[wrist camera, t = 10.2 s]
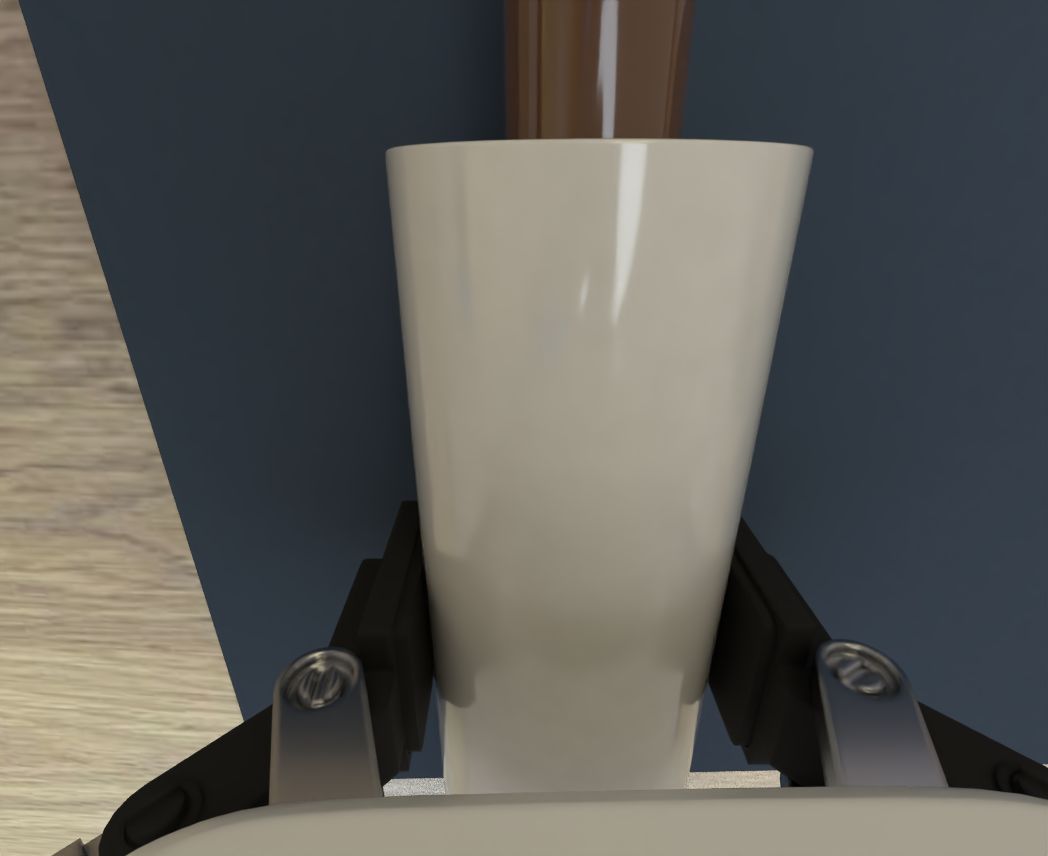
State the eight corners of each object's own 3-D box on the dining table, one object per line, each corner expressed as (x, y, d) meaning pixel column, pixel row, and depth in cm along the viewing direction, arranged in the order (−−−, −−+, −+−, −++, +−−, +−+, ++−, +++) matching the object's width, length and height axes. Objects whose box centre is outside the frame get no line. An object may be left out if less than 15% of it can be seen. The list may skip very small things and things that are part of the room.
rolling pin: (629, 850, 19) (663, 1092, 14) (471, 847, 19) (450, 1087, 14) (795, -323, 8) (1345, -1371, 2) (394, -319, 8) (115, -1322, 3)
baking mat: (265, 775, 18) (262, 782, 18) (-9, -113, 9) (-20, -120, 9) (1106, 757, 18) (1112, 763, 18) (1674, -108, 9) (1697, -113, 9)
